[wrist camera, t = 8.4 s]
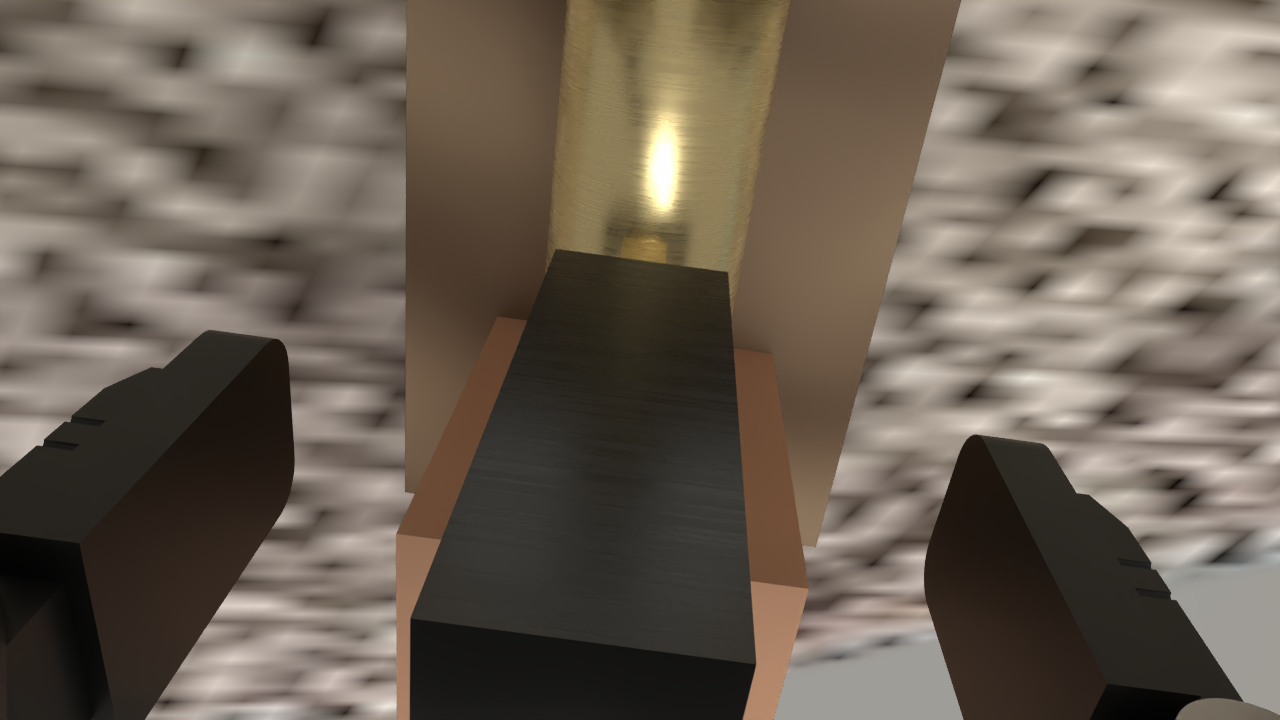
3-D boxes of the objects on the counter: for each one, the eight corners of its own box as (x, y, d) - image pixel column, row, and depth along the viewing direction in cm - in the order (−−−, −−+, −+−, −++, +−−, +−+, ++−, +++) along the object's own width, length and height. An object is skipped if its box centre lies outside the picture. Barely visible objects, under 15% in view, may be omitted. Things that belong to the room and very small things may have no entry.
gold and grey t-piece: (602, -266, 12) (251, -792, 3) (821, -236, 12) (1252, -657, 3) (536, 507, 18) (354, 1202, 9) (684, 526, 19) (667, 1243, 9)
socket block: (497, 316, 20) (396, 534, 13) (772, 353, 20) (808, 588, 13) (489, 469, 22) (396, 726, 15) (740, 502, 22) (759, 774, 15)
